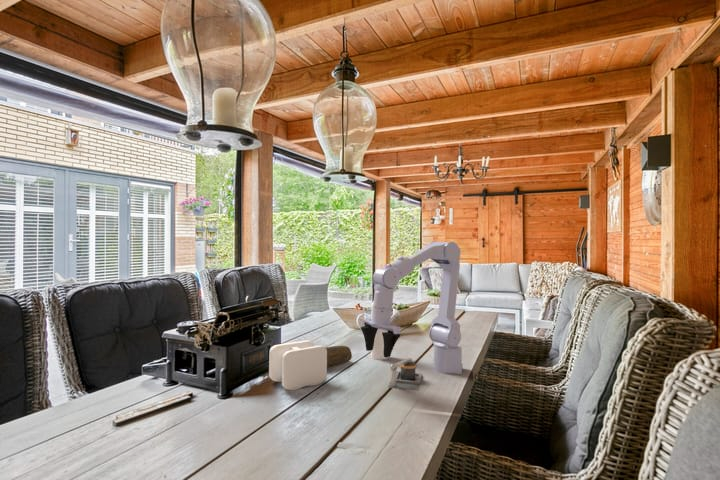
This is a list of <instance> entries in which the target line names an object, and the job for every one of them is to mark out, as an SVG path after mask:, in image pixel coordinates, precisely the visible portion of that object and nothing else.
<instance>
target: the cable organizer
mask: <svg viewBox="0 0 720 480" xmlns="http://www.w3.org/2000/svg"><path fill="white" fill-rule="evenodd" d="M268 354H269V355H268V359H269V361H268V363H269V364H268V377H269V379H271V381H273V382H279V383H280V382H281V385H282V387H283V388H284V389H286V390H290V391H291V392H292V391H296V390H300V389H302V388H303V387H307V386H310V387H312V386H316V385H320V384H321V383H323V382H325V381H326V379H327V377H328V372H327V371H328V367H327V349H326V347H325V346H323V345H315V343H314V342H313V341H311V340H309V339H307V340H299V341H294V342H293V341H291V342H287V343H281V344H280V343H279V344H275V345H272V346H271V347H270V348H269V353H268Z"/></svg>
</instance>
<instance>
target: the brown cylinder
mask: <svg viewBox="0 0 720 480" xmlns="http://www.w3.org/2000/svg"><path fill="white" fill-rule="evenodd" d="M325 348H326V349H327V368H330V367H335V366H338V365H342V364H345V363H347V362H350V361H351V359H352V358H353V356H352V355H353V353H352V351H351V350H352V349H351V348H350V347H348V346H347V345H334V346H328V347H325Z"/></svg>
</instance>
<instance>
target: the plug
mask: <svg viewBox="0 0 720 480" xmlns="http://www.w3.org/2000/svg"><path fill="white" fill-rule="evenodd" d="M416 367H417V365H416V362H415V361H413V360H412V361H411V362H409V363H406V364H404V365H402V366H400V371H401V380H410V381H414V380H415V373H416V369H417V368H416Z"/></svg>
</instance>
